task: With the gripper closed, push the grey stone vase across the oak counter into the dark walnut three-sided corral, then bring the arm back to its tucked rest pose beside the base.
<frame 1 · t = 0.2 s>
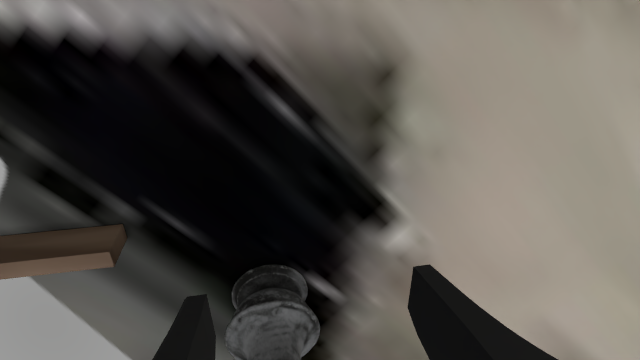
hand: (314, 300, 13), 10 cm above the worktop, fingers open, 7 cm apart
grey stone vase: (270, 291, 26), on the worktop
walnut corral: (52, 322, 24), on the worktop
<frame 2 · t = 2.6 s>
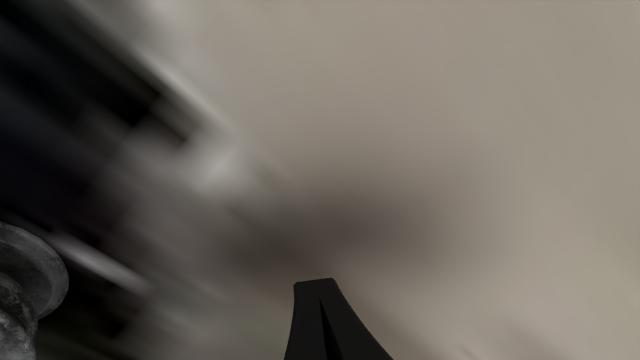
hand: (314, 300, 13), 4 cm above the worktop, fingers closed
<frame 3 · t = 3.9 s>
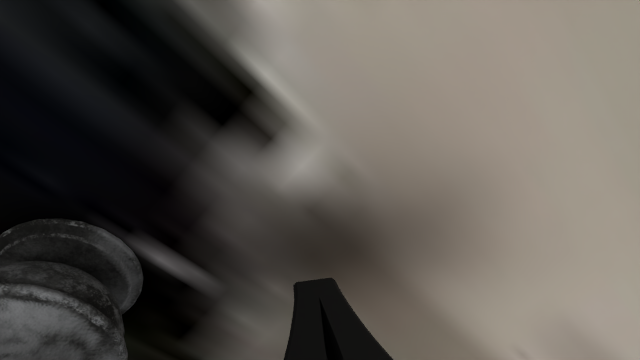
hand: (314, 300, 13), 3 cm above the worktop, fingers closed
grey stone vase: (70, 272, 14), on the worktop
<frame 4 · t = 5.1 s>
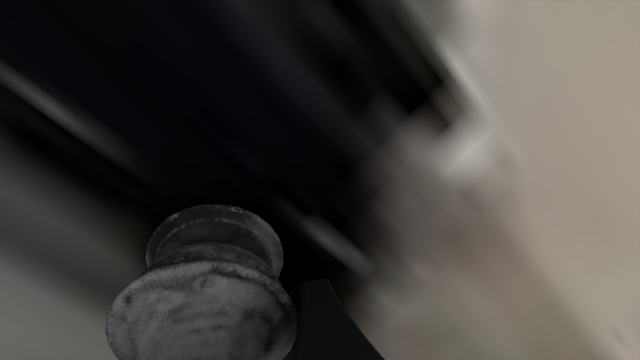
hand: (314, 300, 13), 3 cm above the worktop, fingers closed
grey stone vase: (217, 256, 15), on the worktop, touching gripper
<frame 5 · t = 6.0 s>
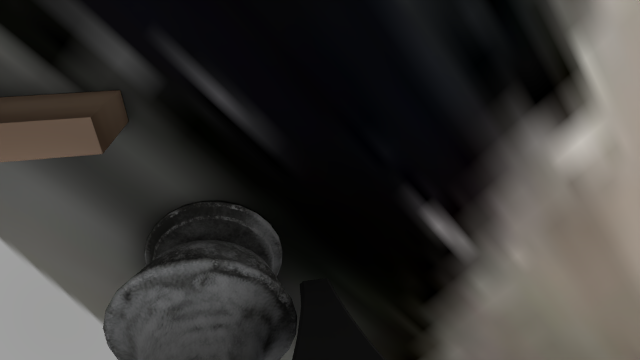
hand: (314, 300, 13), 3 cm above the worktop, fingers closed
grey stone vase: (216, 254, 15), on the worktop, touching gripper
walnut corral: (1, 285, 14), on the worktop
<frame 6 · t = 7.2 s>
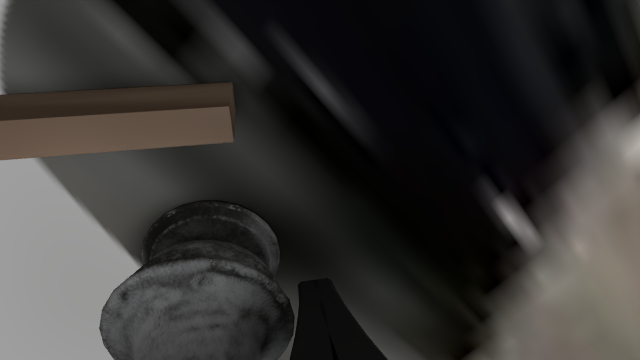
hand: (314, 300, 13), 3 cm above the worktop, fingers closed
grey stone vase: (213, 254, 15), on the worktop, touching gripper
walnut corral: (96, 273, 14), on the worktop
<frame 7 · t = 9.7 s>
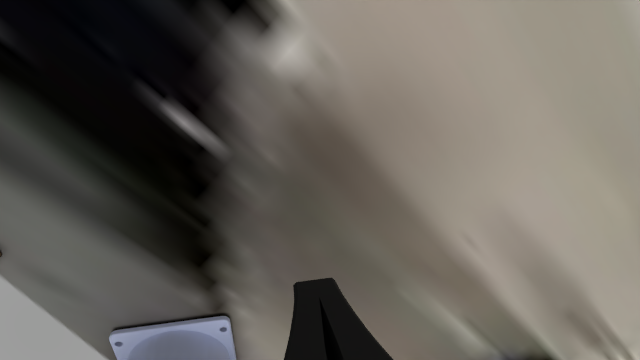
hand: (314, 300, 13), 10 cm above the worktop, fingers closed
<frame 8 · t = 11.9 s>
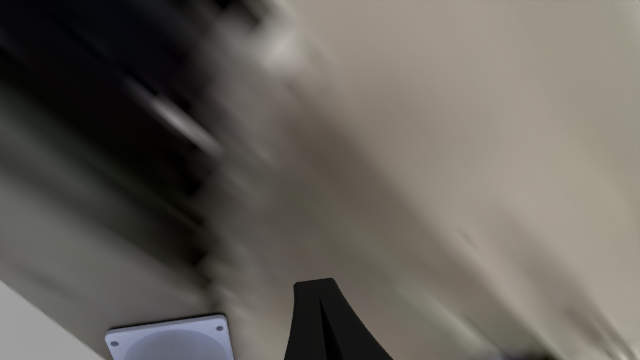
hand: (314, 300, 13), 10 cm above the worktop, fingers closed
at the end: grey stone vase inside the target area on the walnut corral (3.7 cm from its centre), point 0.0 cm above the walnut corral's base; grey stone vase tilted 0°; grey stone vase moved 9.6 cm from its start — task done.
